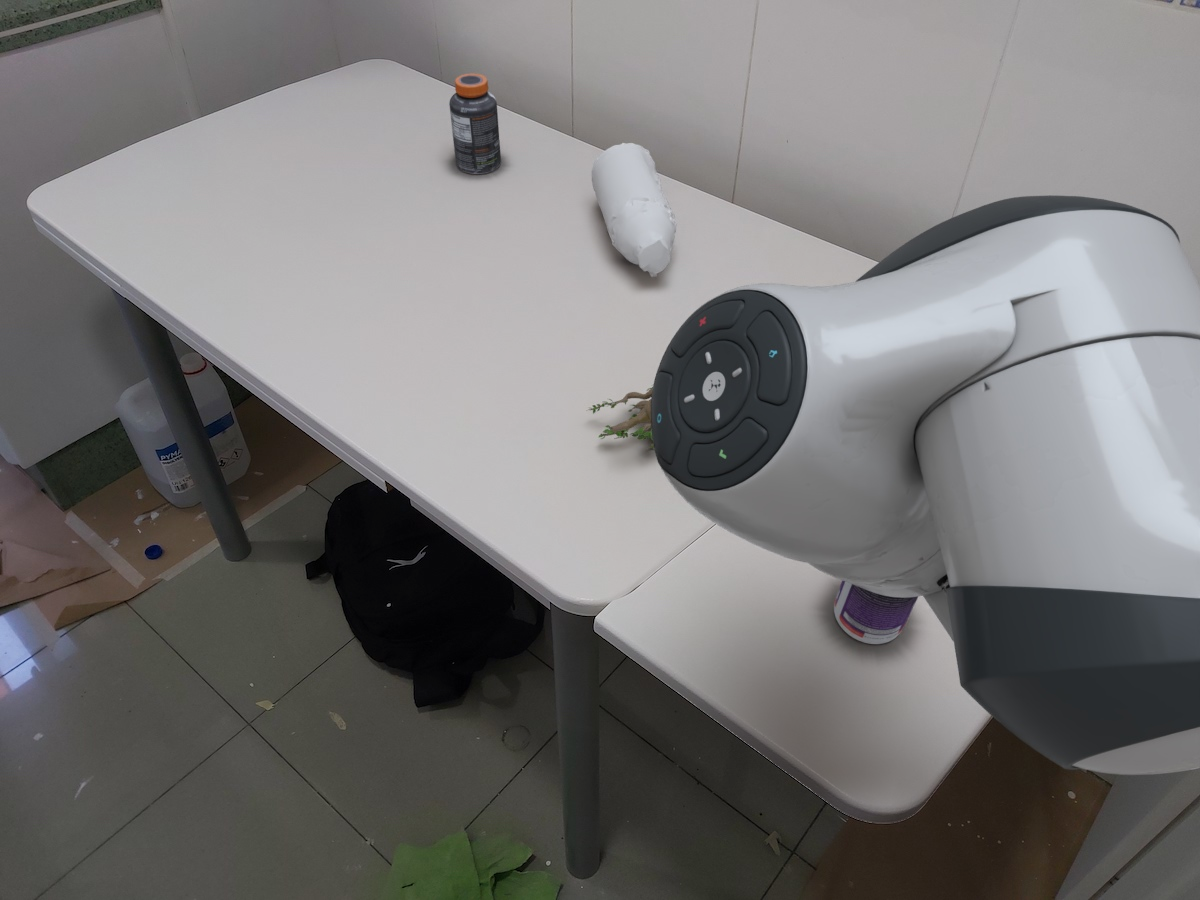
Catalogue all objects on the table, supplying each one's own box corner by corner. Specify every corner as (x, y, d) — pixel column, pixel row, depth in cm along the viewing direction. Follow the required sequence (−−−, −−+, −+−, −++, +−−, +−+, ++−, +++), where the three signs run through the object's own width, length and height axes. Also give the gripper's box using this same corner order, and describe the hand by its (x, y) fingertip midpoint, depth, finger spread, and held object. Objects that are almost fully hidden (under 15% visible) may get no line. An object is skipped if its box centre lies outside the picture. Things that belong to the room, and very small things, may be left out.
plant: (866, 290, 98) (884, 227, 92) (921, 327, 94) (944, 263, 88) (572, 430, 82) (572, 364, 77) (622, 482, 78) (626, 416, 72)
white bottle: (616, 294, 97) (618, 231, 91) (590, 204, 110) (591, 144, 104) (686, 288, 98) (693, 226, 92) (653, 199, 111) (657, 140, 105)
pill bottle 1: (499, 152, 119) (494, 67, 110) (502, 174, 115) (497, 88, 106) (455, 154, 118) (446, 69, 110) (456, 176, 114) (447, 90, 106)
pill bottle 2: (914, 641, 67) (953, 565, 60) (846, 650, 66) (878, 574, 59) (887, 583, 71) (921, 505, 64) (823, 591, 70) (850, 512, 63)
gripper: (1105, 659, 34) (1158, 686, 44) (836, 310, 45) (928, 395, 56) (964, 739, 36) (1045, 747, 46) (743, 387, 48) (847, 456, 58)
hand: (980, 553), depth 51 cm, fingers open, 8 cm apart
